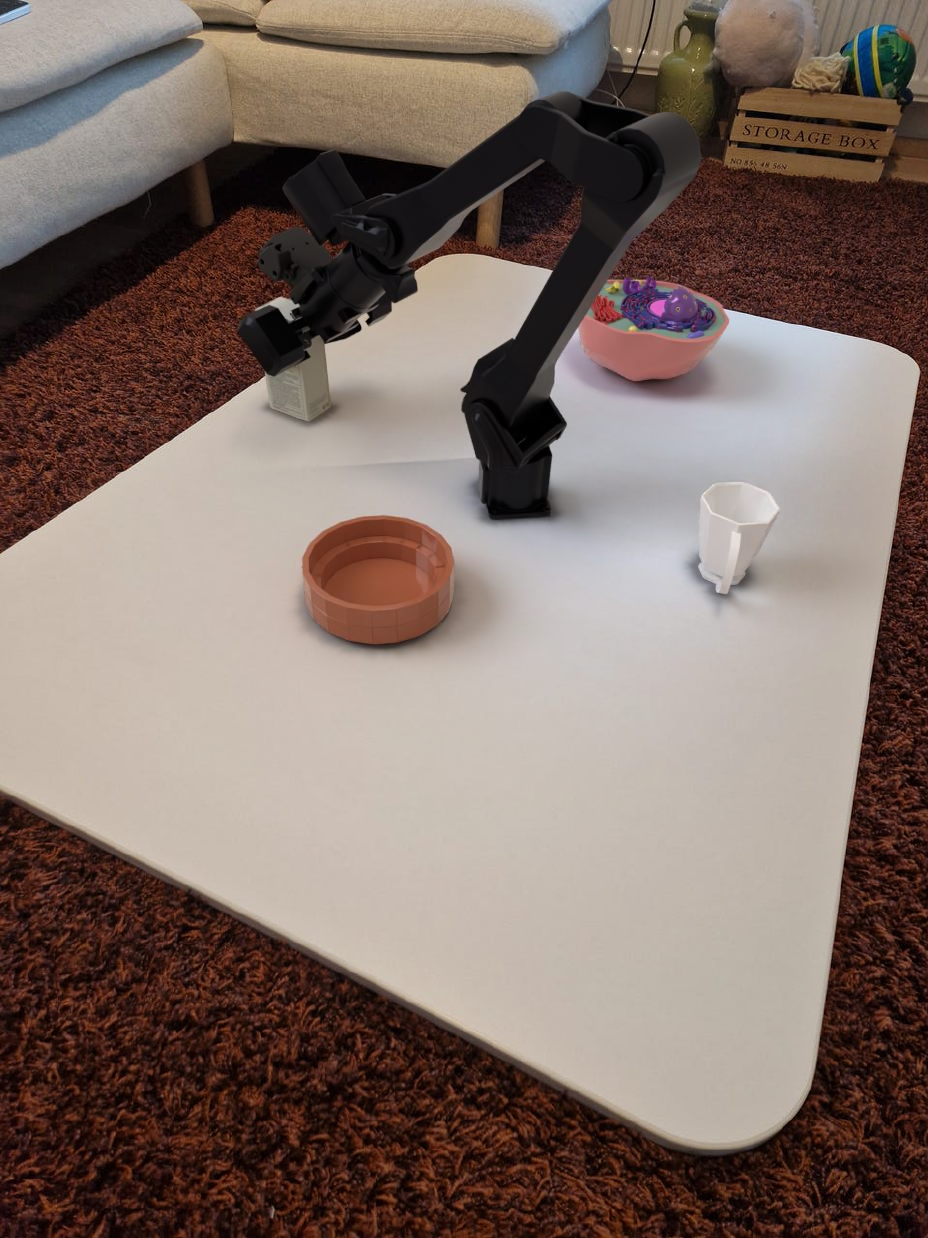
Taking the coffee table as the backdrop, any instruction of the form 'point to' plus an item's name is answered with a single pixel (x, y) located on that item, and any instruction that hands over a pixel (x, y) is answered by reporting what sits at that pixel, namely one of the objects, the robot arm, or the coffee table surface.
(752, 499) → the cup
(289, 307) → the cosmetic box
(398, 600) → the terracotta bowl
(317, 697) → the coffee table surface
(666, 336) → the cell model
